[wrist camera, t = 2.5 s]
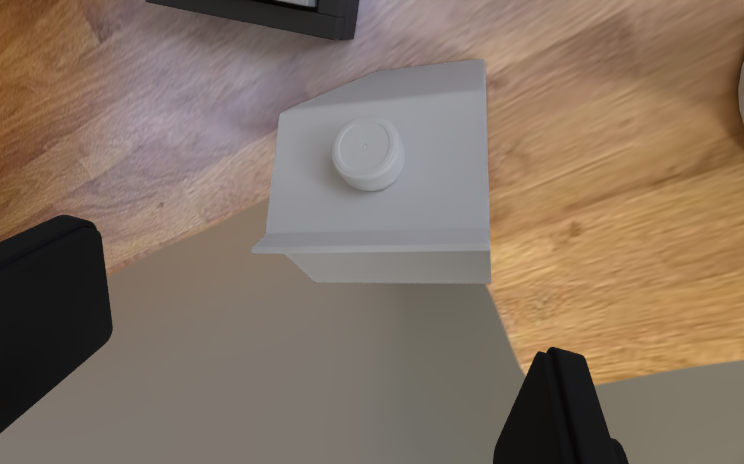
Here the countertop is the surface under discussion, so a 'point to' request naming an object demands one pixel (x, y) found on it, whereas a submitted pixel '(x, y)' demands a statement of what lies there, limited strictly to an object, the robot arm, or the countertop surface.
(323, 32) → the scale
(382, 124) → the milk carton
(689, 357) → the countertop surface
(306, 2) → the scale pan
